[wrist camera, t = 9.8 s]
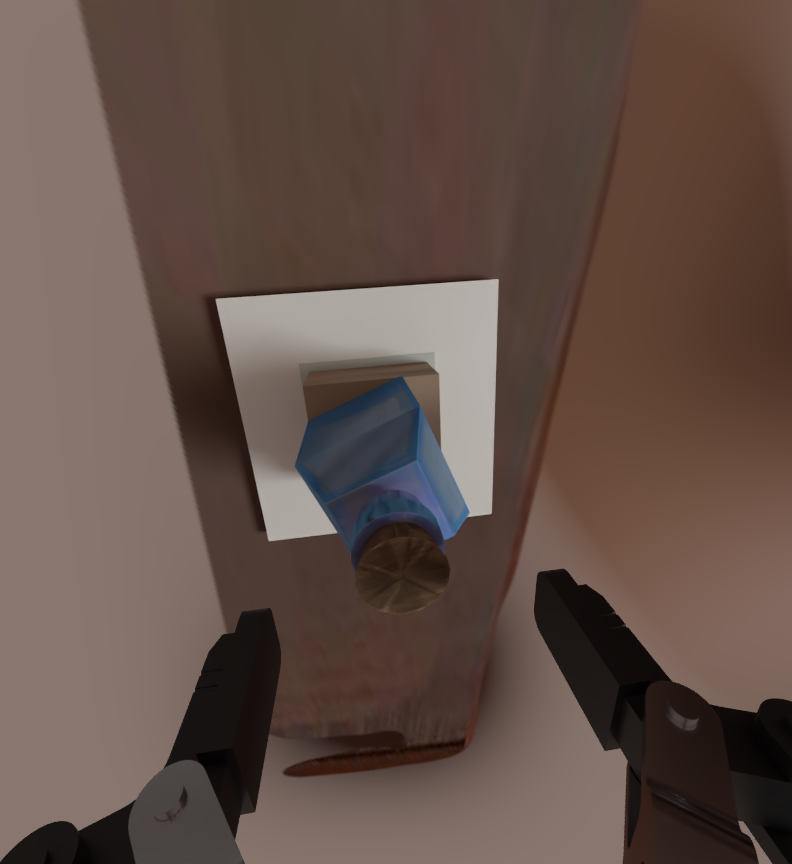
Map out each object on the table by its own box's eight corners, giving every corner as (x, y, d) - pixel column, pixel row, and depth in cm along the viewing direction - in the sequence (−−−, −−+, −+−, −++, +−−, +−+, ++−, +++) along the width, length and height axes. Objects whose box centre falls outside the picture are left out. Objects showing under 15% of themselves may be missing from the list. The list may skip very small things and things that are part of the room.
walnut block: (309, 372, 26) (302, 386, 22) (426, 361, 27) (439, 373, 23) (325, 477, 29) (321, 506, 25) (430, 466, 29) (442, 492, 26)
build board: (221, 298, 25) (215, 298, 24) (492, 279, 26) (498, 279, 25) (271, 532, 31) (268, 541, 30) (486, 506, 33) (492, 514, 32)
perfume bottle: (355, 500, 25) (361, 671, 14) (308, 421, 23) (269, 548, 12) (441, 460, 25) (517, 601, 14) (401, 375, 23) (453, 461, 11)
